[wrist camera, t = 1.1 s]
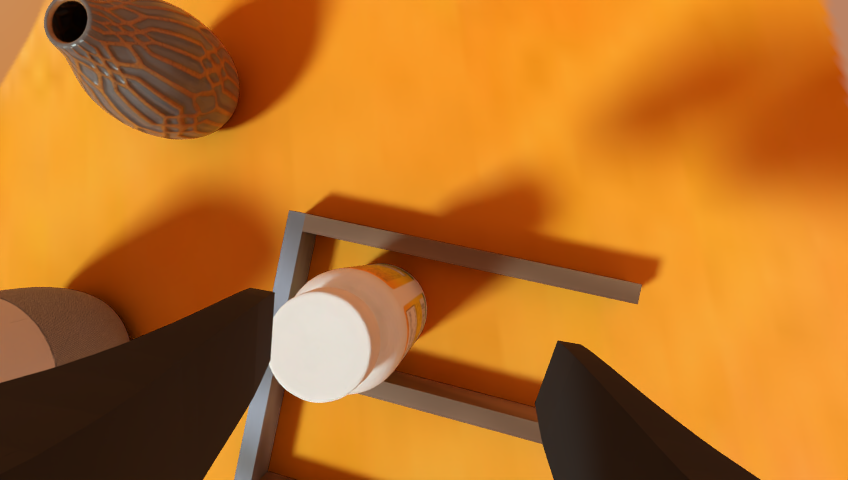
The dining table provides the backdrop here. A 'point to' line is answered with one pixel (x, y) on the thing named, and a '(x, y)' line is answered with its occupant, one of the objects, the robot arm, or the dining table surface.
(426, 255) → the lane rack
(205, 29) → the vase
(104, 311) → the smart speaker
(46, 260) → the dining table surface
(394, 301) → the supplement bottle
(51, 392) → the robot arm
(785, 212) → the dining table surface
